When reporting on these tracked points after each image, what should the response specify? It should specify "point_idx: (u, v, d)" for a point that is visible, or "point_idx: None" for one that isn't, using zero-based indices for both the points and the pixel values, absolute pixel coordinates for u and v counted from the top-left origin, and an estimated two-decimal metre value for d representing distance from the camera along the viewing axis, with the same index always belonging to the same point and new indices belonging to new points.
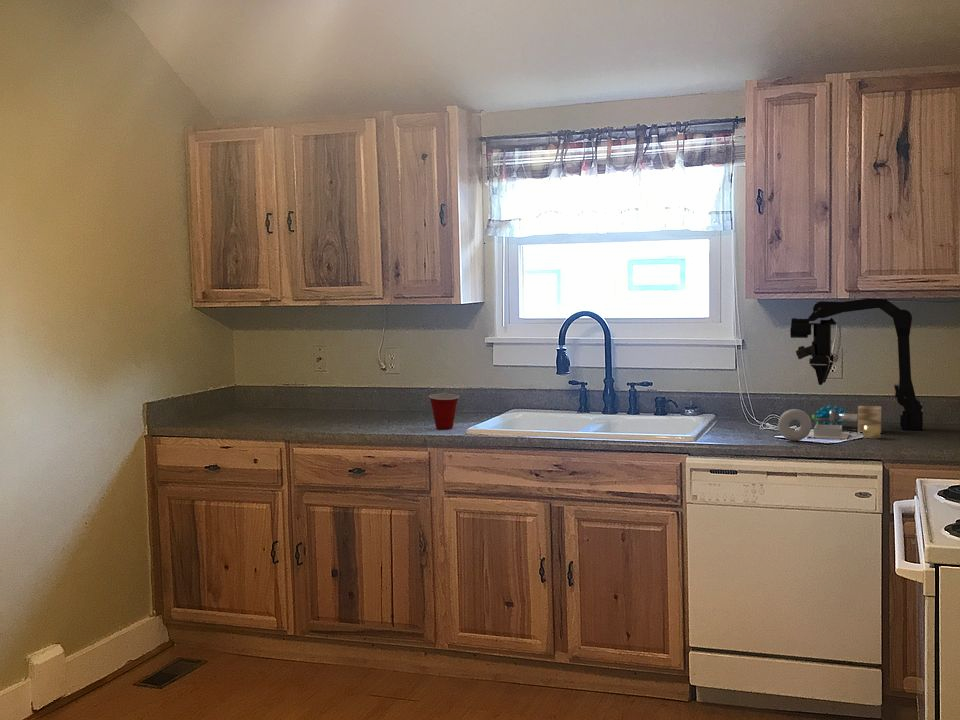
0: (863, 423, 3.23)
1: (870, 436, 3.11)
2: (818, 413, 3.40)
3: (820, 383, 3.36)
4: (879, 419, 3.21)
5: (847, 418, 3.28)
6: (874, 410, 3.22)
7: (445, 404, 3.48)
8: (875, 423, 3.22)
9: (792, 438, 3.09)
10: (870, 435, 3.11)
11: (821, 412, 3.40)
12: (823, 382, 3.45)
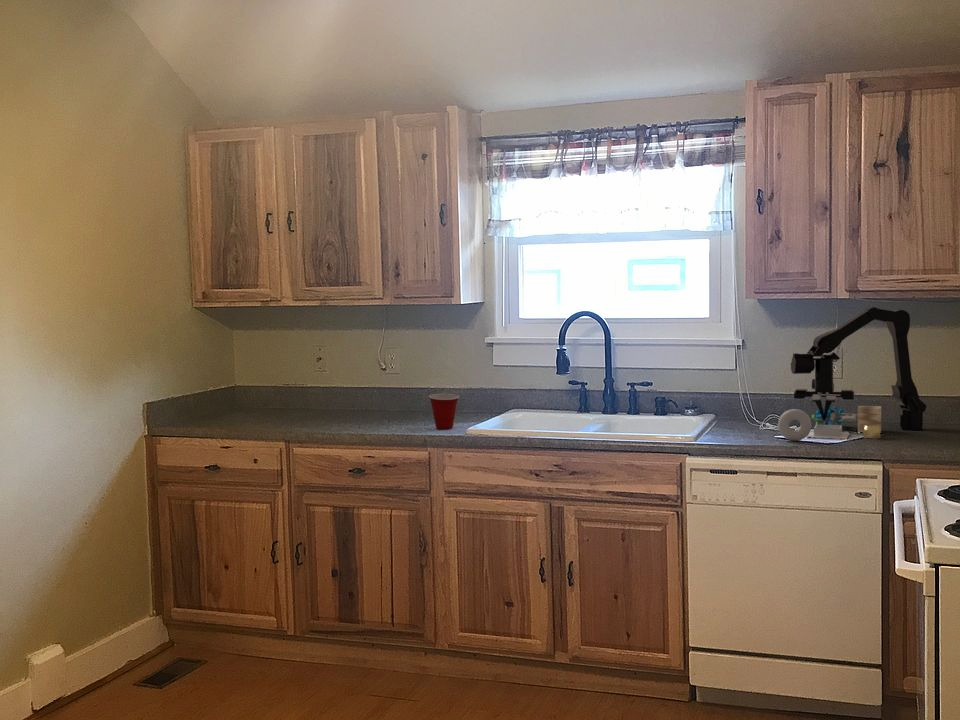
0: (863, 423, 3.23)
1: (870, 436, 3.11)
2: (818, 413, 3.40)
3: (822, 418, 3.32)
4: (879, 419, 3.21)
5: (848, 418, 3.28)
6: (874, 410, 3.22)
7: (445, 404, 3.48)
8: (875, 423, 3.22)
9: (792, 438, 3.09)
10: (870, 435, 3.11)
11: None
12: None
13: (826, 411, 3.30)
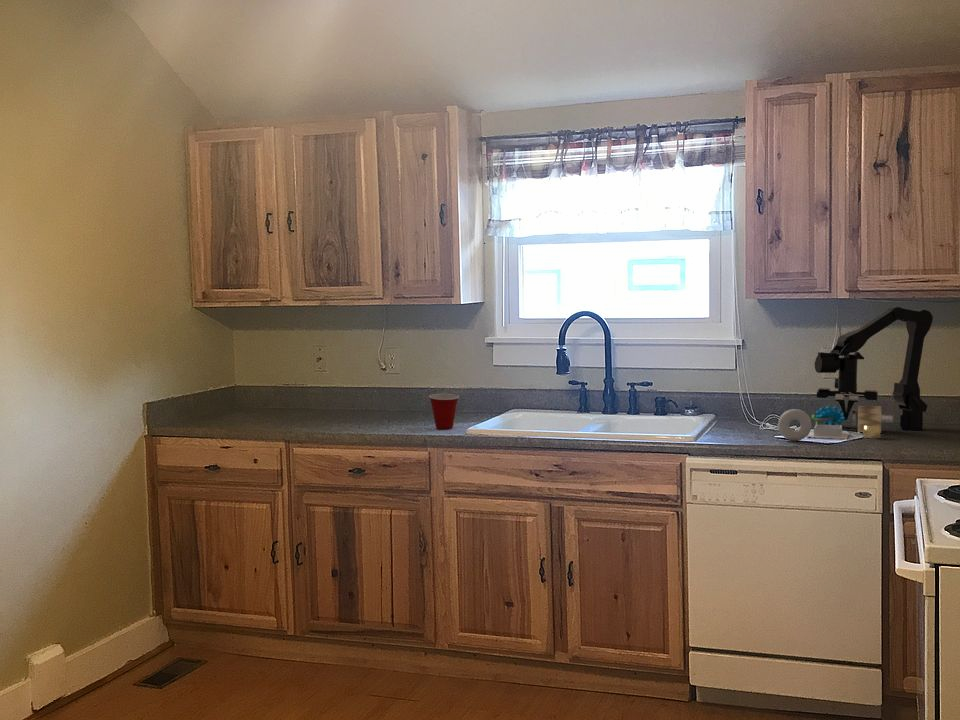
0: (863, 423, 3.23)
1: (870, 436, 3.11)
2: (817, 413, 3.40)
3: None
4: (879, 419, 3.21)
5: None
6: (874, 410, 3.22)
7: (445, 404, 3.48)
8: (875, 423, 3.22)
9: (792, 438, 3.09)
10: (870, 435, 3.11)
11: (820, 412, 3.40)
12: None
13: (848, 411, 3.27)
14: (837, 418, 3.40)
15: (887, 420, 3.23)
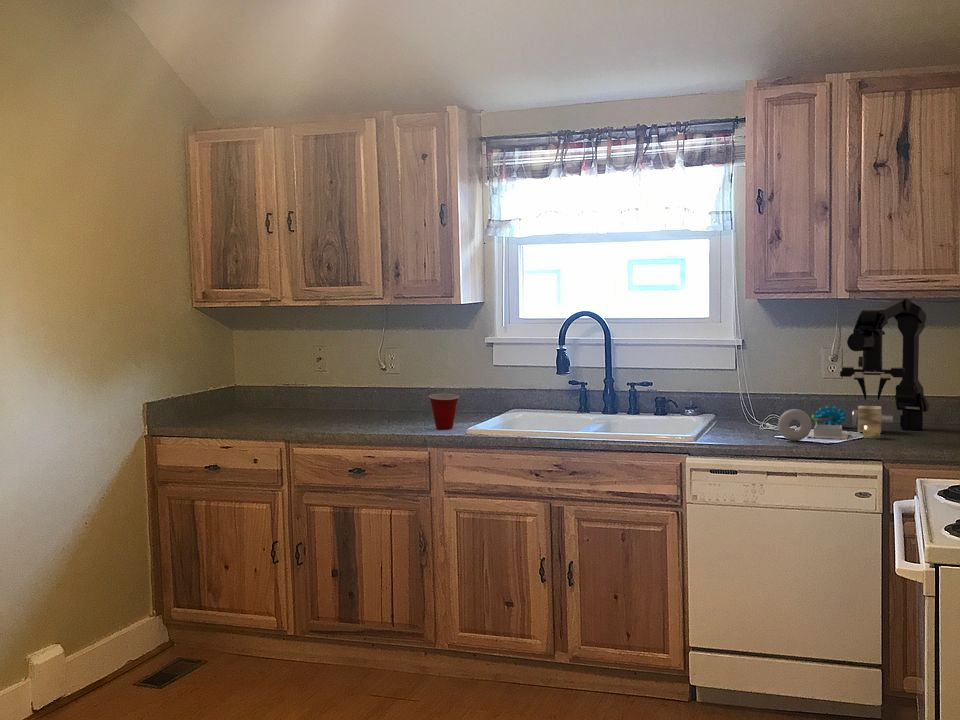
0: (863, 423, 3.23)
1: (870, 436, 3.11)
2: (817, 413, 3.40)
3: (864, 397, 3.13)
4: (879, 419, 3.21)
5: None
6: (874, 410, 3.22)
7: (445, 404, 3.48)
8: (875, 423, 3.22)
9: (792, 438, 3.09)
10: (870, 435, 3.11)
11: (820, 412, 3.40)
12: None
13: (880, 390, 3.10)
14: (837, 418, 3.39)
15: (887, 420, 3.23)
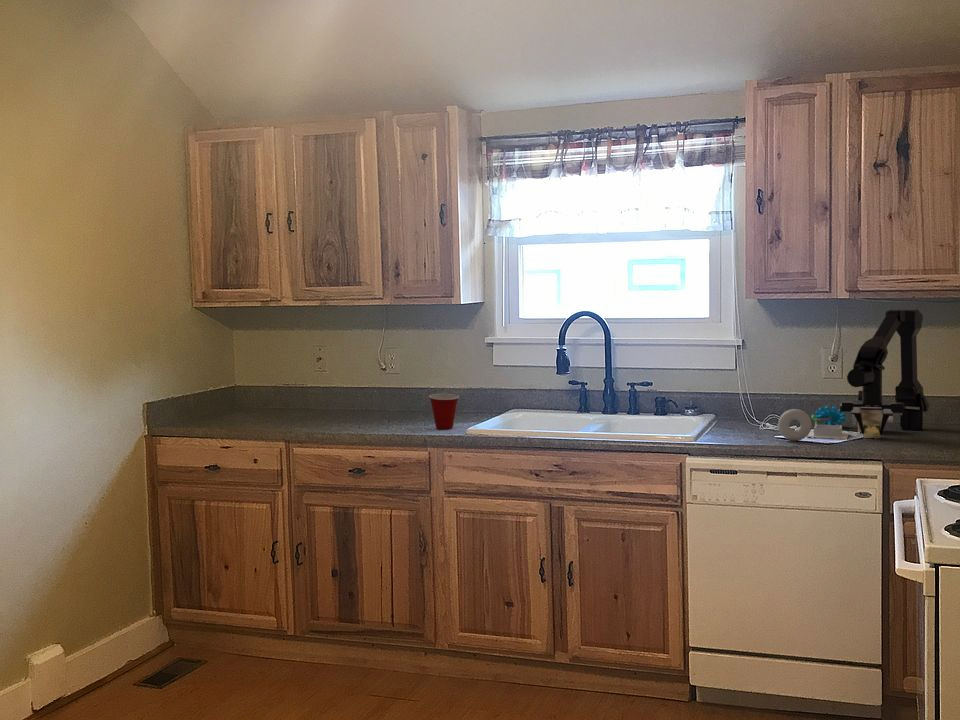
0: (863, 423, 3.23)
1: (870, 436, 3.11)
2: (817, 413, 3.40)
3: (861, 432, 3.14)
4: (879, 419, 3.21)
5: None
6: (874, 410, 3.22)
7: (445, 404, 3.48)
8: (875, 423, 3.22)
9: (792, 438, 3.09)
10: (870, 435, 3.11)
11: (820, 412, 3.40)
12: (880, 434, 3.12)
13: (883, 425, 3.10)
14: (837, 418, 3.39)
15: (887, 420, 3.23)
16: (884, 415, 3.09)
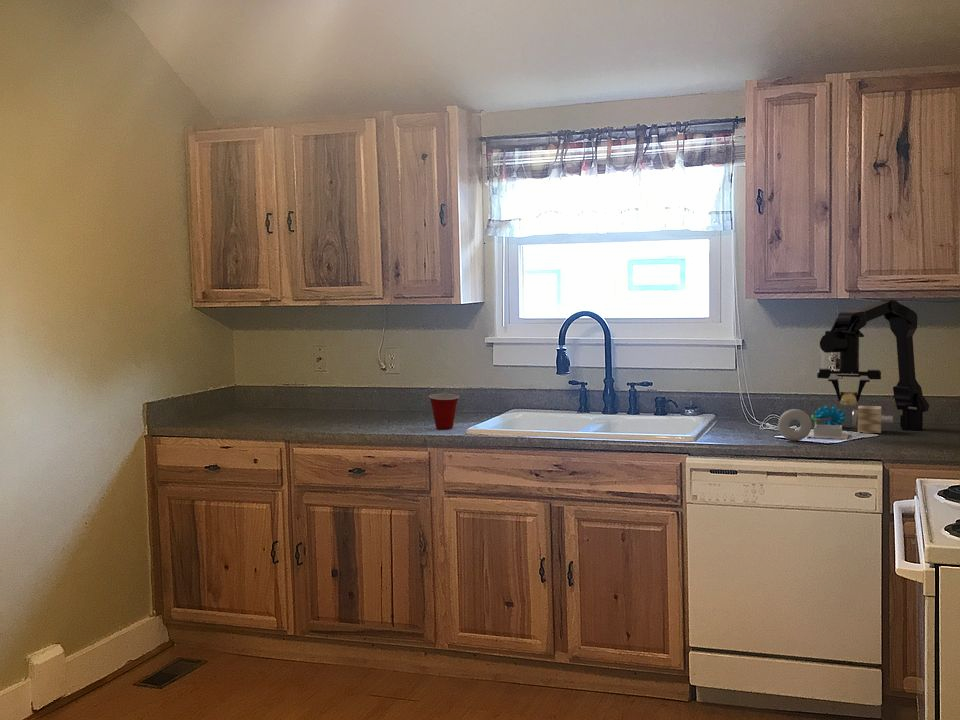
0: (863, 423, 3.23)
1: (847, 402, 3.13)
2: (816, 413, 3.40)
3: (838, 399, 3.16)
4: (879, 419, 3.21)
5: None
6: (874, 410, 3.22)
7: (445, 404, 3.48)
8: (875, 423, 3.22)
9: (792, 438, 3.09)
10: (847, 401, 3.13)
11: (819, 412, 3.40)
12: (857, 401, 3.14)
13: (860, 392, 3.12)
14: (836, 418, 3.39)
15: (887, 420, 3.23)
16: (861, 381, 3.11)
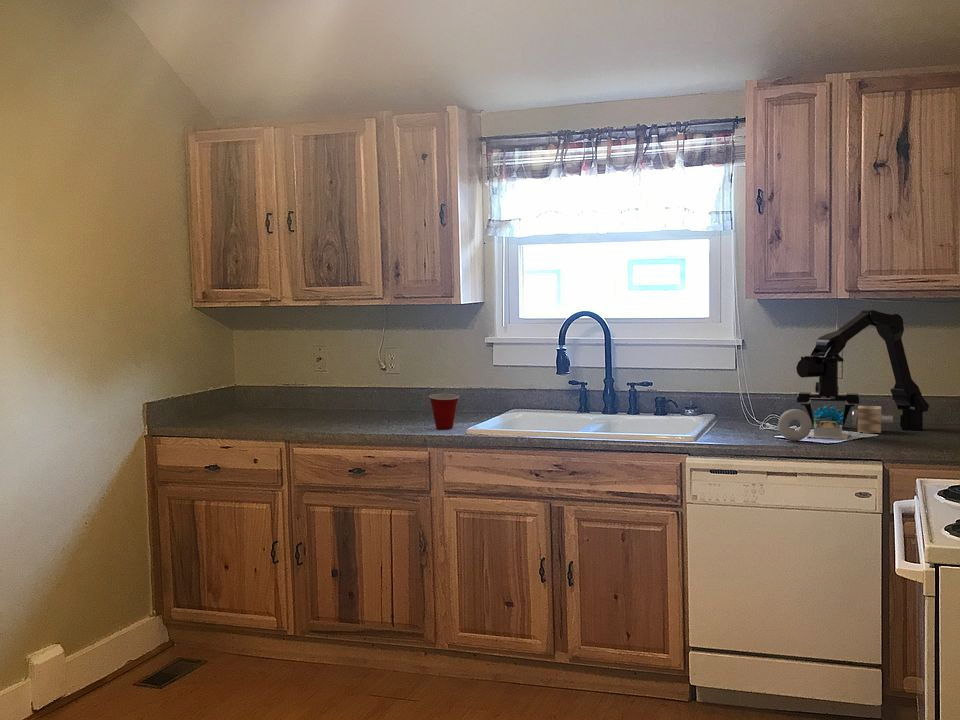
0: (863, 423, 3.23)
1: None
2: (816, 413, 3.40)
3: None
4: (879, 419, 3.21)
5: None
6: (874, 410, 3.22)
7: (445, 404, 3.48)
8: (875, 423, 3.22)
9: (792, 438, 3.09)
10: None
11: (819, 412, 3.39)
12: (843, 425, 3.16)
13: (845, 416, 3.14)
14: (836, 418, 3.39)
15: (887, 420, 3.23)
16: (846, 406, 3.13)
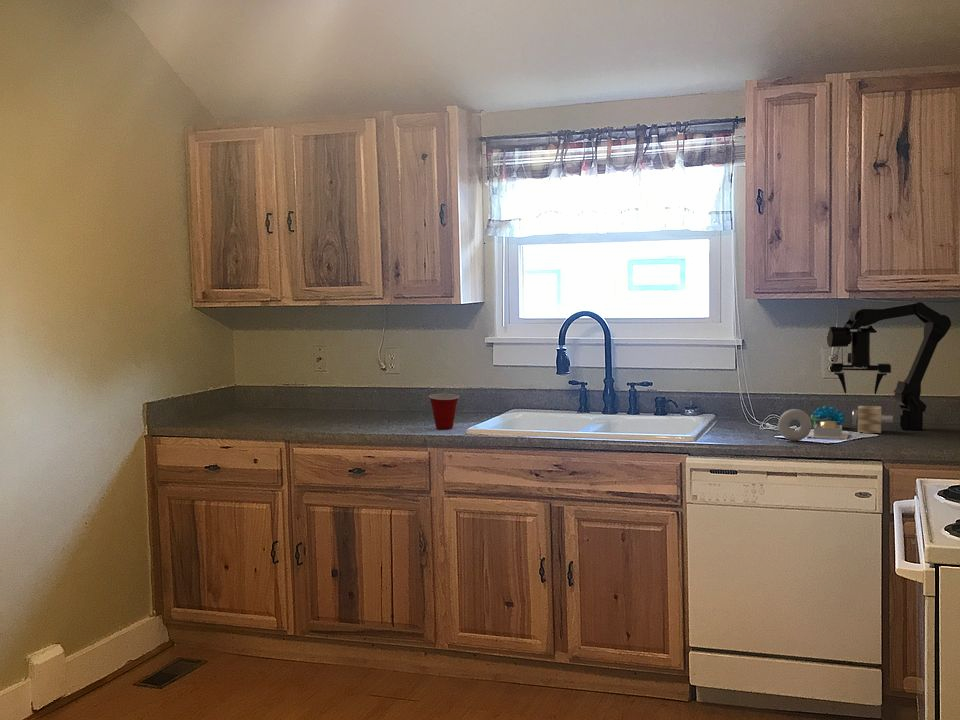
0: (863, 423, 3.23)
1: None
2: (815, 413, 3.40)
3: (844, 391, 3.33)
4: (879, 419, 3.21)
5: None
6: (874, 410, 3.22)
7: (445, 404, 3.48)
8: (875, 423, 3.22)
9: (792, 438, 3.09)
10: None
11: (818, 412, 3.39)
12: None
13: (877, 385, 3.27)
14: (836, 419, 3.38)
15: (887, 420, 3.23)
16: (878, 375, 3.25)
